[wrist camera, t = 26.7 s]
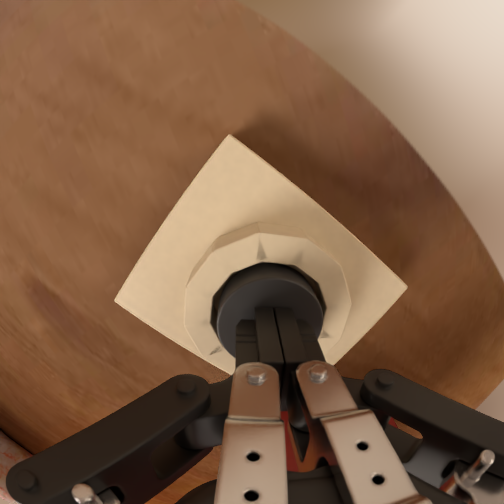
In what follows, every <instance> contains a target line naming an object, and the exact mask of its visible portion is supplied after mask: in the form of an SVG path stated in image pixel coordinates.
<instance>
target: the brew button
mask: <svg viewBox="0 0 504 504" xmlns="http://www.w3.org/2000/svg"><path fill="white" fill-rule="evenodd" d="M254 307H263V308H290V307H291V308H292V310H293V313H294V316H295V319H305V320H306V321H307V322H308V323H309V324H311V325H312V327H313V329H314V332H315V335H316V337H317V339H318V338H319V336H320V333H321V330H322V326H323V312H322V308H321V306H320V303H319V301H318V299H317V297H316V295H315V293H314V291H313V289H312V287H311V285H310V284H309V282H308V280H307V279H306V278H305V277H304V276H303V275H302V274H301V273H300V272H298V271H297V270H295V269H293V268H291V267H289V266H286V265H283V264H279V263H260V264H255V265H252V266H249V267H247V268H244V269H242V270H241V271H239V272H238V273H236V274H235V275H234V276H233V277H232V278H231V279H230V280H229V281H228V282H227V284H226V285H225V286H224V288H223V290H222V293H221V296H220V299H219V306H218V314H217V333H218V337H219V339H220V341H221V344H222V345H223V347H224V348H225V349H226V350H227V352H228V353H229V354H230V355H232V356H233V357H234V358H235V345H236V325H237V324H238V323H239V321H240V320H241V319H251V320H253V317H254Z"/></svg>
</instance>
